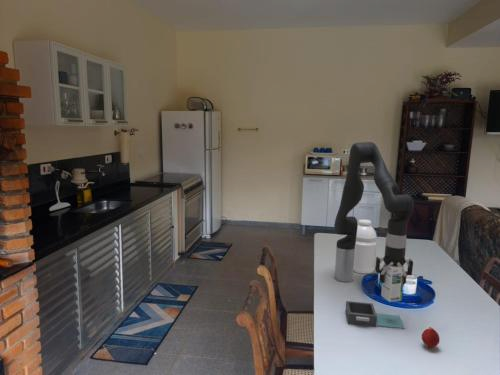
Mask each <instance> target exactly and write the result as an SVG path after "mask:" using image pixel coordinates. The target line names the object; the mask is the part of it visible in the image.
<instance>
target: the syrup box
mask: <svg viewBox="0 0 500 375" xmlns="http://www.w3.org/2000/svg"><path fill="white" fill-rule="evenodd" d="M383 266H385V267H386V264H385V263H383V265H382V267H383ZM388 267H389V269H388V270H387V271H386V272H385V273H384V283H381V293H380V296H381V297H382V298H383V299H385V300H386V301H387V302H389V303H391V302H400V301H402V299H403V288H404V287H403V286H404V285H403V277H404V272H402V267H403V269H404V270H405V266H404V265H403V266H402V267H398V266H395V265H392V266H388Z"/></svg>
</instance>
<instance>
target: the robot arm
mask: <svg viewBox="0 0 500 375" xmlns="http://www.w3.org/2000/svg"><path fill="white" fill-rule="evenodd" d="M367 163H371V164H372V165H373V167H374V174H373V181H374V184H375V186H376V188H377V189H378V191H379V192H380V194H381V196H382V200H383V205H384V207H385V210H386V211H387V212H389V213H391V214H396V216H393V217H390V218H389V219H388V222H387V231H386V235H385V247H384V256H383V257H379V256H376V259H375V270H374V271H375V272H376V273H377V274H379V278H378V280H379V282H380V283H381V284H382V283H384V273H385V272H386V271H387V270H388V269H389V267H388V266H392V265H395V266H398V267H402V266H404V265H407V268H406V269H407V271H406V270H405V268H404V269H403V267H402V272H404V277H403V286H405V284H406V283H407V277H408V276H412V275H413V268H414V261H413V259H411V258H409V259H406V249H407V233H408V232H407V231H408V223H409V221H410V219H411V216H412V214H413V212H414V208H415V202H414V199H413V197H412V196H411V195H410V194H398V192H399V190H400V188H399V185H398V183H397V182H396V181H395V179H394V178H393V176H392V174H391V173H390V172H389V170H388V168H387V166H386V162H385V161H384V158H383V157H382V154H381V152H380V150H379V148H378V146H377V145H376V143H374V142H372V141H365V142H363V141H362V142H354V143H353V144H352V145H351V147H350V150H349V157H348V165H347V172H346V176H345V181H344V186H343V190H342V193H341V198H340V204H339V208H338V211H337V214H336V216H335V220H334V227H333V228H334V232H335V234H337V235H341V236H343V235H344V237H342V238H340V239H337V241H336V248H335V249H336V250H335V265H334V279H335V280H336V281H339V282H344V283H347V282H348V283H350V282H352V281H353V278H354V271H353V268H354V253H355V244H356V236H357V228H358V225H359V222H358V219H357V218H356V217H355V216H352V215H351V216H350V215H349V216H348V214H349V213H350V212H351V211H352V210H353V209H354V208H355V207H356V206H357V205H358V204H359V203H360V202H361V201H362V197H363V194H364V191H365V185H364V182H363V180H362V178H361V176H360V174H359V170H360V169H359V168H360V165H361V164H367ZM382 262H384V263H385V264H386V267H385V266H383V265H382V267H381V266H380V265H381V264H382ZM384 263H383V264H384ZM380 267H381V269H380Z"/></svg>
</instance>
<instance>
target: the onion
mask: <svg viewBox="0 0 500 375" xmlns="http://www.w3.org/2000/svg"><path fill="white" fill-rule="evenodd" d="M421 340H422V342H423V343H424V345H425V346H427V347H428V348H430V349H431V348H435V347H436V346H438V345H439V344H440V335H439V332H437V331H436V330H435V329H434V328H433V326H429V327H428V328H426V329H425V330H423V332H422V333H421Z"/></svg>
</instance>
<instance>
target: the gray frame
mask: <svg viewBox="0 0 500 375" xmlns="http://www.w3.org/2000/svg"><path fill="white" fill-rule="evenodd" d="M374 306H375V305H374V304H373V302H372V303H370V302H360V301H350V300H349V301H348V300H346V301H345V311H344V312H345V315H346V320H347V324H348V325H352V326H364V327H371V328H372V327H374V328H377V324H378V323H377V315H376V313H377V312H376V310H375V307H374Z"/></svg>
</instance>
